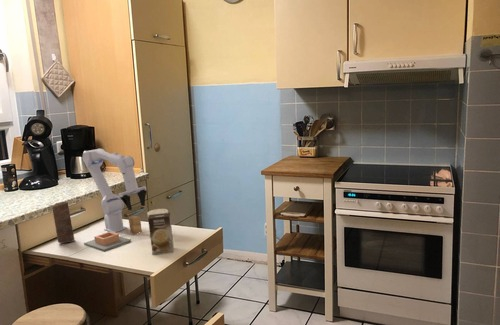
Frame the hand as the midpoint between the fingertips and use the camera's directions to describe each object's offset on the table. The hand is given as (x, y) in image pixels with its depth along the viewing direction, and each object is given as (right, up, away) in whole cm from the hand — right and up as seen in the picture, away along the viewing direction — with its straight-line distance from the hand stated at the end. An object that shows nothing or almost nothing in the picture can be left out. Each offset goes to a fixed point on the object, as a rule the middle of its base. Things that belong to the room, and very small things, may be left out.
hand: (136, 207), depth 204 cm
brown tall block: (-34, -17, -1) cm, 38 cm away
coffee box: (+19, -16, -26) cm, 36 cm away
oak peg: (-1, -13, +4) cm, 14 cm away
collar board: (-11, -16, -8) cm, 21 cm away
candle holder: (+13, -13, -4) cm, 19 cm away
